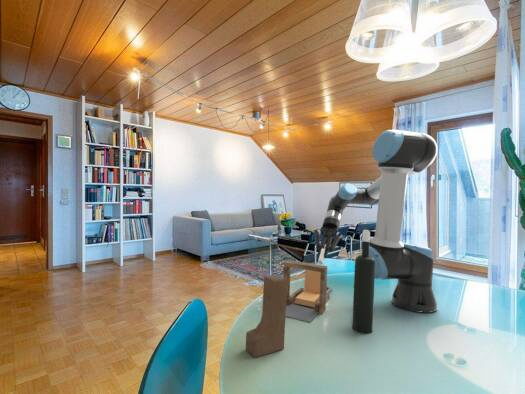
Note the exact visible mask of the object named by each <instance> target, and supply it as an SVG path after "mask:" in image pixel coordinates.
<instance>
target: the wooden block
mask: <svg viewBox="0 0 525 394" xmlns="http://www.w3.org/2000/svg"><path fill="white" fill-rule="evenodd" d="M262 290H263V292H262V293H263V294H262V313H261V314H262V315H261V318H260V321H259V323H257V325H256V327H255V328H253V329H251V330H249V331H246V333H245V334H246V335H245V350H246V352H248V353H249V355H251V356H252V358H260V357H262V356H264V355H269V354H272V353H275V352H279V351H281V350H284V348H285V336H286V335H285V334H286V333H285V332H286V317H285V314H286V293H287V279H286V278H284V277H283V276H281V275H280V274H274V275H273V274H272V275H266V276H264V277H263V289H262Z"/></svg>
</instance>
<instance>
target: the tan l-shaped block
mask: <svg viewBox="0 0 525 394" xmlns="http://www.w3.org/2000/svg"><path fill="white" fill-rule="evenodd" d="M320 277H321V272H317V271H311V270H304V287H303V288H304V291H303V292H302V293H301V294H299V295H298V296H297V297H296V298H295V302H294V303H295V305H300V306H301V305H302V306H304V307H306V306H307V307H309V308H315V304H316V303H317V302H318V301H319V300H320Z"/></svg>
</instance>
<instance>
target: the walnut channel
mask: <svg viewBox="0 0 525 394" xmlns="http://www.w3.org/2000/svg"><path fill="white" fill-rule="evenodd" d="M291 269H297V270H299V269H300V270H304V271H305V270H311V271H317V272H321V277H320V300H319V301H318V302H317V303H316V304H315V307H314V309H315V312H319V313H318V314H321V315H324V313H325V311H326V309H327V308H326V307H327V306H326V305H327V303H328V302H329V300H330V299H331V298H330V293H331V292H330V293H326V287H328V286H327V283H328V282H327V281H328V280H327V278H328V265H324V264H323V265H322V264H317V263H315V264H314V263H310V262H303V261H302V262H301V261H297V260H296V261H295V260H291V259H290V260H286V261H284V262H283V276H282V277H284V278H286V279H287V293H286V305H288V306H289V305H290V304H294V303H295V298H296V297H297V296H298V295H299V294H301V293H302V292H303V291H304V287H300V288H299V289H297V290H296V291H294V292H293V293H292V294H291V293H290V292H291V291H290V290H291V272H292V270H291Z"/></svg>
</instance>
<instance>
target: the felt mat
mask: <svg viewBox="0 0 525 394" xmlns="http://www.w3.org/2000/svg"><path fill="white" fill-rule="evenodd" d="M318 314H320V313H319V312H315V308H313V307H308V306H307V307H306V306H304V305H302V306H301V305H299V304H294V303H293V304H290V305H289V306H288V305H286V314H285V318H290V319H293V320H297V321H300V322H305V323H308V324H309V323H310V324H311V323H312V321H314V319H315V318H316V317H317V316H318Z"/></svg>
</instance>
